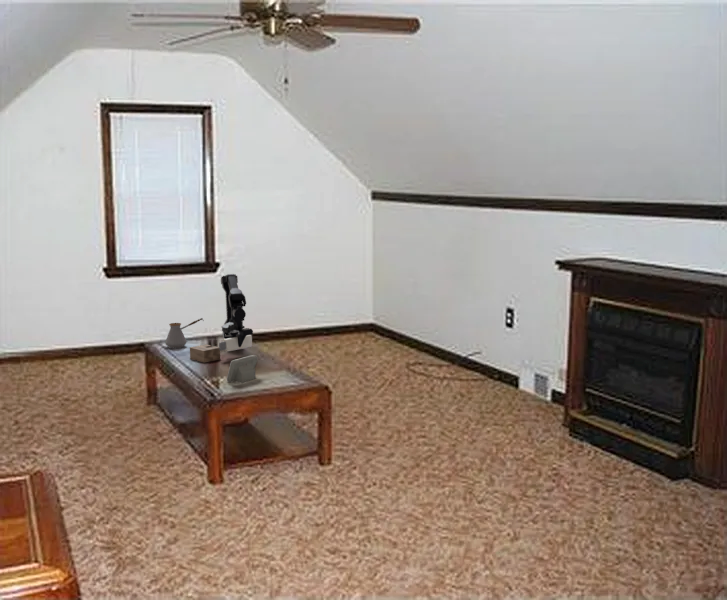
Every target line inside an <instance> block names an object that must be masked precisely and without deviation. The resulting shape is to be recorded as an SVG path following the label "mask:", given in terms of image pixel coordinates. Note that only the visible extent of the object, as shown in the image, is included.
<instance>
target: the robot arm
mask: <svg viewBox="0 0 727 600" xmlns="http://www.w3.org/2000/svg"><path fill="white" fill-rule="evenodd" d="M238 279H239V278H238V275H236V274H235V273H227V274H225V275H222V276H221V277H220V285H222V286H221V288H222V289H223V291H224V292H225V293H224V294H225V309H226V311H225V313H226V320H225V321H224V323H223V325H222V326H221V332H222V338H223V339H227V338H232V337H238V345H239V347H241V345H242V343H243V341H244V339H245V337H246V335H253V334H254V330H253V329H252V328H249V327H245V326H244V325H243V324H244V323H243V322H244V321H245V317H246V315H247V314H246V311H245V310H244V307H246V305H247V301H246V296H245V293H243V291H242V290H241V289H239V285H238V283H239V281H238Z"/></svg>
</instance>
